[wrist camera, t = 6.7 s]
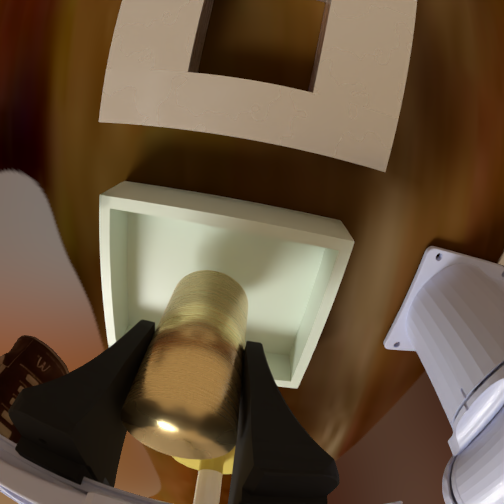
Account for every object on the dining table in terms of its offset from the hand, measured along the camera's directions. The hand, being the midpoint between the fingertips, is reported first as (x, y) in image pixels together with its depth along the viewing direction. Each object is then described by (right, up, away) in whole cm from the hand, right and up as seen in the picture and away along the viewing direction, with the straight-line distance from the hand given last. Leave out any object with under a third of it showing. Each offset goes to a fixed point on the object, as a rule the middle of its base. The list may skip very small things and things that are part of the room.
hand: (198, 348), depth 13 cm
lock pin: (0, +2, +3) cm, 3 cm away
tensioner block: (+3, +15, 0) cm, 15 cm away
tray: (0, +3, +5) cm, 6 cm away
